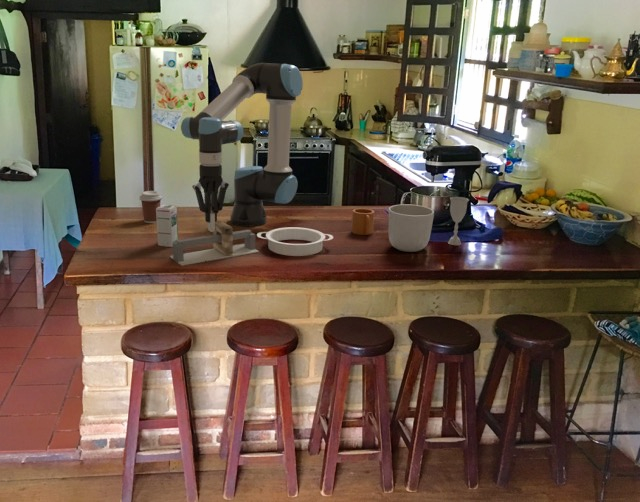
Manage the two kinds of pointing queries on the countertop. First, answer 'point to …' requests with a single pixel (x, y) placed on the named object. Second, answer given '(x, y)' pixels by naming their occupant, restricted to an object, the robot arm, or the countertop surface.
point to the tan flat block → (224, 237)
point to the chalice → (457, 215)
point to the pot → (295, 233)
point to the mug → (362, 221)
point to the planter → (409, 226)
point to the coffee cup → (150, 205)
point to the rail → (212, 253)
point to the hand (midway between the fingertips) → (211, 230)
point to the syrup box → (167, 225)
